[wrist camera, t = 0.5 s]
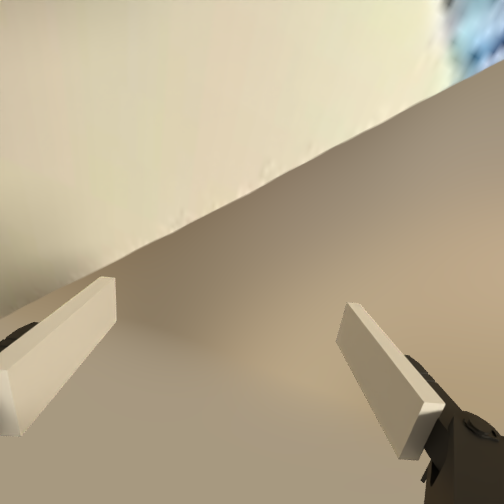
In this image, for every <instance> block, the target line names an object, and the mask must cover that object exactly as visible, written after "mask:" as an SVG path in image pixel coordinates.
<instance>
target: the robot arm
mask: <svg viewBox="0 0 504 504" xmlns="http://www.w3.org/2000/svg"><path fill="white" fill-rule="evenodd" d="M116 322H117V314H116V288H115V278H111V277H102V276H101V277H99V278H98V279H97V280H95V281H94V282H93V283H91V284H90V285H89V286H87V287H86V288H85V289H83V290H82V291H81V292H80V293H78V294H77V295H75V296H74V297H73V298H71V299H70V300H69V301H68V302H66V303H65V304H63V305H62V306H61V307H60V308H58V309H57V310H56V311H54V312H53V313H52V314H50V315H49V316H48V317H46V318H45V319H44V320H42V321H41V322H40V323H37V322H33V323H30V324H28V325H26V326H24V327H22V328H19V329H17V330H16V331H15V332H13V333H12V334H10V335H9V336H7V337H6V339H5V340H2V341H1V342H0V436H15V437H21V436H22V435H23V434H24V433H25V432H26V430H27V429H28V428H29V427H30V426H31V424H32V423H33V422H34V420H35V419H36V418H37V417H38V416H39V415H40V413H41V412H42V411H43V409H45V407H46V406H47V405H48V404H49V403H50V401H51V400H52V399H53V398H54V397H55V395H56V394H57V393H58V392H59V390H60V389H61V388H62V387H63V386H64V384H65V383H66V382H67V381H68V380H69V378H70V377H71V376H72V375H73V374H74V372H75V371H76V370H77V369H78V367H79V366H80V365H81V364H82V363H83V361H84V360H85V359H86V358H87V356H88V355H89V354H90V353H91V352H92V351H93V349H94V348H95V347H96V346H97V345H98V343H99V342H100V341H101V340H102V338H103V337H104V336H105V335H106V334H107V332H108V331H109V330H110V329H111V328H112V326H113V325H114V324H115V323H116ZM336 343H337V345H338V346H339V348H340V350H341V352H342V354H343V356H344V358H345V359H346V361H347V363H348V365H349V367H350V369H351V371H352V373H353V375H354V376H355V378H356V380H357V382H358V384H359V386H360V387H361V389H362V391H363V393H364V395H365V397H366V399H367V401H368V403H369V405H370V406H371V408H372V410H373V412H374V414H375V416H376V418H377V420H378V422H379V423H380V425H381V427H382V429H383V431H384V433H385V435H386V436H387V438H388V440H389V442H390V444H391V446H392V448H393V449H394V451H395V453H396V455H397V457H398V459H404V460H419V458H420V455H421V454H422V451H423V449H425V450H426V452H427V454H428V455H429V457H430V458H431V461H430V463H429V465H428V467H427V469H426V471H425V473H424V475H423V477H422V479H421V481H422V482H423V483H424V482H425V480H426V479H427V480H426V491H425V500H424V504H504V436H501V435H500V434H499V433H498V432H497V431H496V430H495V428H494V427H492V426H491V425H490V424H489V423H487V422H486V421H485V420H483V419H481V418H480V417H478V416H477V415H474V414H472V413H469V412H467V411H462V410H461V409H460V408H459V407H458V406H457V405H456V403H455V402H454V401H453V400H452V399H451V398H450V397H449V396H448V395H447V394H446V392H445V391H444V390H443V389H442V388H441V387H440V386H439V385H438V384H437V383H435V380H434V379H433V378H432V377H431V376H430V375H428V372H427V371H426V370H425V369H424V368H423V367H422V366H421V365H420V364H419V363H418V362H417V361H415V360H414V359H413V358H411V357H410V356H408V355H403V354H402V352H401V351H400V350H399V349H398V348H397V347H396V345H395V344H394V343H393V342H392V341H391V340H390V338H389V337H388V336H387V335H386V334H385V333H384V331H383V330H382V329H381V328H380V327H379V326H378V324H377V323H376V322H375V321H374V320H373V319H372V318H371V316H370V315H369V314H368V313H367V312H366V310H365V309H364V308H363V307H362V306H361V305H360V304H359V303H351V302H347V304H346V307H345V311H344V315H343V318H342V321H341V325H340V329H339V332H338V336H337V340H336Z"/></svg>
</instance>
